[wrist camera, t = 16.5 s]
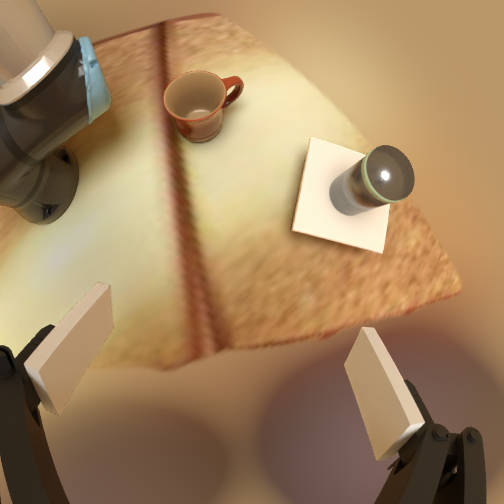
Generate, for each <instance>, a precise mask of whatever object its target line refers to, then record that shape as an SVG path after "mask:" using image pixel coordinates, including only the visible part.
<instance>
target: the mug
mask: <svg viewBox="0 0 504 504" xmlns="http://www.w3.org/2000/svg"><path fill="white" fill-rule="evenodd" d="M234 85H235V87H234V89H233V91H232V92H231V93H230V94H229V95H228V96H226V95H227V91H228V90H229V89H230V88H231V87H232V86H234ZM243 88H244V83H243V81H242V80H241V78H239V77H238V76H232V77H229V78H225V79H220V78H219V77H218V76H217V75H215V74H213V73H210V72H206V71H191V72H187V73H184V74H182V75H180V76H178V77H176V78H175V79H174V80H172V81H171V82H170V83H169V85H168V86H167V88H166V89H165V92H164V95H163V103H164V107H165V109H166V110H167V112H168V113H169V114H170V115H171V116H173V117H174V118H175V122H176V125H177V128H178V130H179V132H180V133H181V134H182V136H183V137H185V138H186V139H187V140H189V141H192V142H205V141H208V140H210V139H212V138H213V137H215V136H216V135H217V133H218V132H219V130H220V128H221V127H222V121H223V114H222V111H223V110H224V109H226V108H227V107H228V106H229V105H230V104H231V103H233V102H234V101H235V100H236V99H237V98H238V97H239V96H240V94H241V93H242V91H243Z"/></svg>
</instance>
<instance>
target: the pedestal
mask: <svg viewBox="0 0 504 504" xmlns="http://www.w3.org/2000/svg"><path fill="white" fill-rule="evenodd" d="M365 156H366V155H364V154H362V153H359V152H356V151H353V150H350V149H348V148H345V147H342V146H339V145H336V144H333V143H330V142H327V141H324V140H320V139H317V138H314V137H311V138H310V139H309V144H308V149H307V155H306V159H305V160H304V165H303V170H302V176H301V181H300V186H299V191H298V196H297V201H296V206H295V211H294V215H293V220H292V225H291V231H295V232H299V233H303V234H307V235H311V236H315V237H319V238H322V239H326V240H330V241H334V242H338V243H342V244H345V245H349V246H353V247H357V248H360V249H364V250H368V251H371V252H375V253H379V254H383V249H384V243H385V237H386V230H387V223H388V216H389V208H390V203H389V204H386V205H384V206H381V207H378V208H375V209H372V210H369V211H366V212H363V213H360V214H357V215H354V216H347V215H344V214H342V213H340V212H339V211H337V210H336V209H335V207H334V206H333V204H332V203H331V200H330V196H329V189H330V186H331V183H332V182H333V180H334V179H335V178H337V177H338V176H339V175H341V174H342V173H343V172H345V171H346V170H347V169H349V168H350V167H351V166H353V165H354V164H355V163H357V162H358V161H359V160H361V159H362V158H363V157H365Z"/></svg>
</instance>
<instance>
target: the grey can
mask: <svg viewBox="0 0 504 504" xmlns="http://www.w3.org/2000/svg"><path fill="white" fill-rule="evenodd" d="M413 186H414V172H413V168H412V165H411V163H410V162H409V160H408V158H407V157H406V156H405V155H404V154H403V153H402V152H401V151H399V150H398V149H397V148H395V147H392V146H389V145H383V146H379V147H376V148H374V149H373V150H371V151H370V152H369V153H368V154H367V155H366V156H365V157H363V158H362V159H361V160H359V161H358V162H357V163H355V164H354V165H353V166H351V167H350V168H349V169H347V170H346V171H345V172H343V173H342V174H341V175H339V176H338V177H337V178H335V179H334V180H333V182H332V183H331V186H330V189H329V196H330V200H331V203H332V204H333V206H334V207H335V209H336V210H337V211H339V212H340V213H342V214H344V215H347V216H354V215H357V214H360V213H363V212H366V211H369V210H372V209H375V208H378V207H381V206H384V205H386V204H389V203H395V202H398V201H401V200H403V199H405V198H406V197H407V196H408V195H409V194H410V193H411V191H412V189H413Z"/></svg>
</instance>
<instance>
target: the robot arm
mask: <svg viewBox="0 0 504 504" xmlns="http://www.w3.org/2000/svg"><path fill="white" fill-rule="evenodd" d="M111 103H112V96H111V94H110V91H109V88H108V86H107V83H106V81H105V78H104V76H103V73H102V71H101V68H100V65H99V63H98V60H97V57H96V54H95V52H94V49H93V46H92V43H91V40H90V38H89V37H88V36H85V37H81V38H79V39H78V40H76V39H75V37H74V36H73V34H72V33H71V32H70V31H55V30H54V29H53V28H52V26H51V25H50V23H49V21H48V20H47V18H46V16H45V15H44V13H43V12H42V10H41V9H40V7H39V5H38V4H37V2H36V1H35V0H0V205H3V206H7V207H12V208H13V209H14V210H15V211H17V212H18V213H19V214H20V215H21V216H22V217H23V218H24V219H26V220H27V221H29V222H32V223H36V224H48V223H51V222H53V221H55V220H56V219H58V218H59V217H60V216H61V215H62V214H63V213H64V212H65V211H66V209H67V208H68V207H69V205H70V203H71V201H72V199H73V197H74V195H75V192H76V189H77V185H78V177H79V170H78V164H77V160H76V158H75V156H74V154H73V153H72V152H71V151H70V150H69V149H67V148H66V147H64V146H63V145H62V144H63V143H64V142H66V141H67V140H68V139H70V138H71V137H72V136H74V135H75V134H76V133H78V132H79V131H80V130H82V129H83V128H85V127H86V126H87V125H91V123H92V121H94V120H95V119H96V118H98V117H99V116H100V115H102V114H103V113H104V112H106V111H107V110H108V109H109V107H110V105H111ZM113 329H114V326H113V315H112V303H111V288H110V285H107V284H103V283H99V282H98V283H97V284H96V285H95V286H94V287H93V288H92V289H91V290H90V291H89V292H88V293H87V294H86V295H85V296H84V297H83V298H82V299H81V300H80V301H79V302H78V303H77V304H76V305H75V306H74V307H73V308H72V309H71V310H70V311H69V312H68V313H67V315H66V316H65V317H64V318H63V319H62V320H61V321H60V322H59V323H58V324H57V325H56V326H53V325H51V324H50V325H48V326H46V327H44V328H42V329H41V330H40V331H39V332H38V333H37V334H36V335H35V337H34V338H33V339H32V340H31V341H30V343H28V344H27V345H26V346H25V348H24V349H23V350H22V351H21V352H20V353H19V354H18V356H17V357H16V358H14V356H13V353H12V351H11V350H10V349H9V347H6V346H4V345H0V456H1V462H2V466H3V471H4V475H5V479H6V482H7V486H8V490H9V493H10V496H11V500H12V503H13V504H70V503H69V501H68V498H67V496H66V494H65V492H64V489H63V487H62V484H61V482H60V479H59V476H58V474H57V471H56V468H55V465H54V462H53V459H52V456H51V453H50V450H49V447H48V443H47V440H46V436H45V432H44V429H43V425H42V420H41V416H40V412H39V409H38V405H39V403H40V402H42V404H43V406H44V408H45V410H47V411H49V412H51V413H53V414H55V415H57V416H60V414H61V413H62V411H63V409H64V407H65V405H66V404H67V402H68V400H69V399H70V397H71V395H72V393H73V392H74V390H75V388H76V387H77V385H78V383H79V382H80V380H81V378H82V377H83V375H84V374H85V372H86V370H87V369H88V367H89V366H90V364H91V362H92V361H93V359H94V358H95V356H96V355H97V353H98V351H99V350H100V348H101V347H102V345H103V344H104V342H105V341H106V339H107V338H108V336H109V335H110V333H111V332H112V330H113ZM344 366H345V369H346V372H347V374H348V377H349V380H350V383H351V386H352V388H353V391H354V394H355V397H356V400H357V403H358V406H359V409H360V412H361V414H362V417H363V420H364V423H365V426H366V429H367V432H368V436H369V439H370V442H371V445H372V448H373V451H374V455H375V458H376V461H378V460H384V459H390V458H391V457H392V456H393V455H395V454H396V453H397V452H398V453H399V456H400V457H399V458H398V459H397V460H396V461H394V462H393V463H392V464H391V465H390V466H389V467H388V470H389V469H391V468H392V467H393V468H392V470H391V473H390V475H389V477H388V479H387V481H386V483H385V484H384V486H383V488H382V490H381V492H380V494H379V496H378V497H377V499H376V501H375V503H374V504H486V472H485V459H484V450H483V442H482V437H481V434H480V433H479V431H478V430H476V429H475V428H473V427H467V428H465V429H464V430H463V431H462V432H461V433H460V434H455V433H449V431H448V430H447V429H446V428H445V427H444V426H442V425H440V424H434V422H433V420H432V418H431V416H430V414H429V413H428V411H427V408H426V407H425V405H424V403H423V402H422V399H421V397H420V396H419V394H418V392H417V390H416V388H415V386H414V385H413V384H412V383H411V382H410V381H408V380H403V378H402V377H401V375H400V373H399V371H398V369H397V367H396V366H395V364H394V362H393V360H392V358H391V357H390V355H389V353H388V351H387V350H386V348H385V346H384V344H383V343H382V341H381V339H380V338H379V336H378V334H377V332H376V331H375V329H374V328H370V327H362V328H361V330H360V332H359V334H358V337H357V339H356V341H355V343H354V345H353V348H352V350H351V352H350V354H349V356H348V358H347V360H346V362H345V364H344ZM456 467H457V472H456V473H455V468H456ZM0 504H1V498H0Z"/></svg>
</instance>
